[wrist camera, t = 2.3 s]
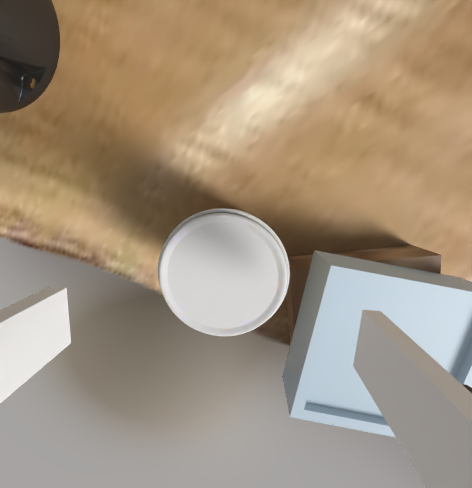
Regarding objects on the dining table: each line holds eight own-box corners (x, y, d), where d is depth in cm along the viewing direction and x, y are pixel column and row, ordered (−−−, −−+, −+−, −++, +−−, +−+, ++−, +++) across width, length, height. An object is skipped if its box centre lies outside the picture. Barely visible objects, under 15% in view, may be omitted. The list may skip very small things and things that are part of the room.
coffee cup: (184, 271, 30) (144, 323, 18) (200, 192, 28) (166, 194, 16) (262, 290, 30) (271, 353, 18) (283, 212, 28) (308, 228, 16)
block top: (282, 376, 27) (290, 417, 22) (314, 250, 24) (331, 265, 19) (412, 401, 27) (448, 447, 22) (460, 277, 24) (513, 299, 19)
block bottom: (291, 362, 33) (298, 393, 28) (282, 256, 30) (289, 269, 25) (405, 355, 32) (434, 385, 27) (408, 244, 29) (441, 255, 24)
